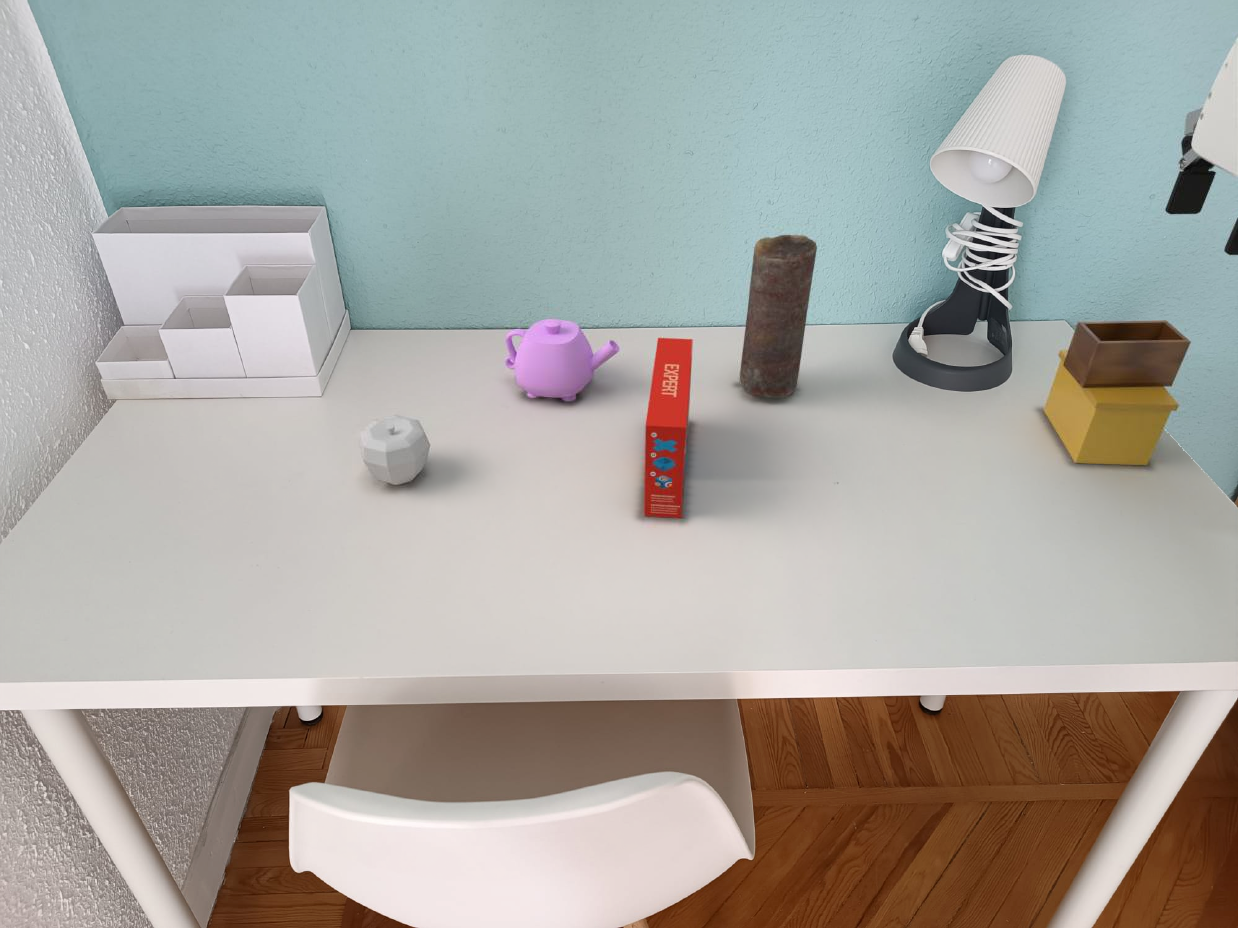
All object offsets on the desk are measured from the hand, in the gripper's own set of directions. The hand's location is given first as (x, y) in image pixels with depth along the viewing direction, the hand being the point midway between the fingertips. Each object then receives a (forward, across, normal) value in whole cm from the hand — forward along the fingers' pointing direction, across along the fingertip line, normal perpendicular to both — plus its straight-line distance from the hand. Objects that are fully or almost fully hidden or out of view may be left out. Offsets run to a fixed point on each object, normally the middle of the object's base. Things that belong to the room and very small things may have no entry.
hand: (1210, 232), depth 81 cm
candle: (+28, +19, +35) cm, 49 cm away
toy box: (+28, +3, +49) cm, 57 cm away
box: (+28, +8, -2) cm, 29 cm away
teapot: (+28, +21, +62) cm, 71 cm away
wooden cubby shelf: (+20, +8, -2) cm, 21 cm away
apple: (+28, +3, +79) cm, 84 cm away
